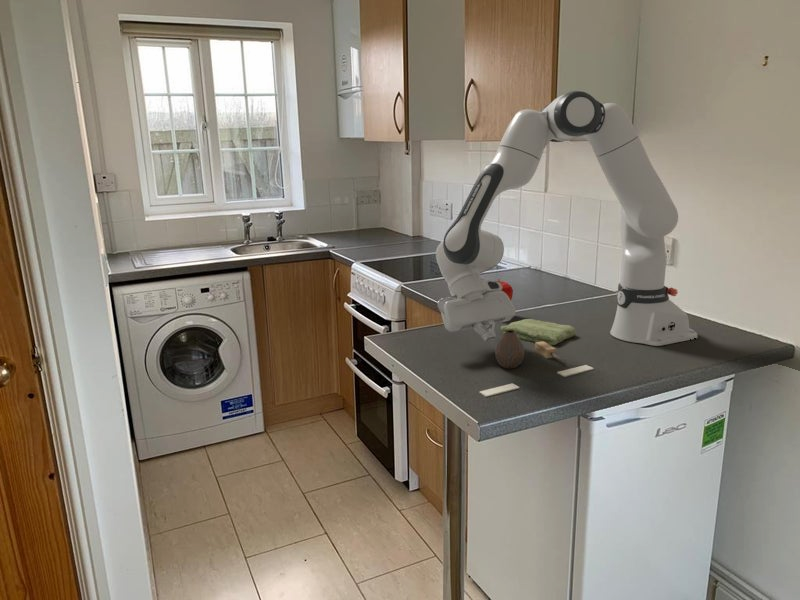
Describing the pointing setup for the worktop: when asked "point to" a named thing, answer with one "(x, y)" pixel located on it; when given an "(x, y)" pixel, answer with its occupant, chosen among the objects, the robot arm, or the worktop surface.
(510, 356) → the vase
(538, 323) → the washcloth
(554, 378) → the worktop surface
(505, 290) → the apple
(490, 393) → the beige flat strips
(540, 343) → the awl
